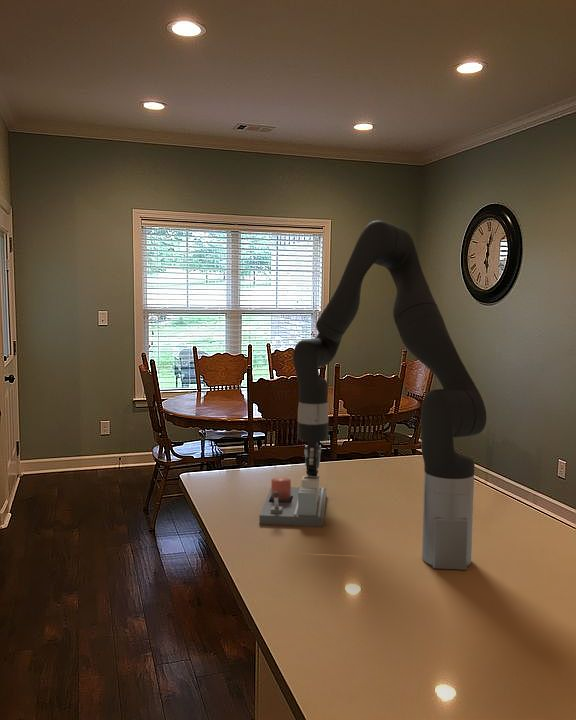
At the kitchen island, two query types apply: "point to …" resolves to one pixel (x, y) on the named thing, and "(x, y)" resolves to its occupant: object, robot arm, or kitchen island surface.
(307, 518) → the panel
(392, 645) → the kitchen island surface
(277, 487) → the red push button
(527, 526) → the kitchen island surface
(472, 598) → the kitchen island surface
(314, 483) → the cream fader knob
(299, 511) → the slate-blue fader knob
